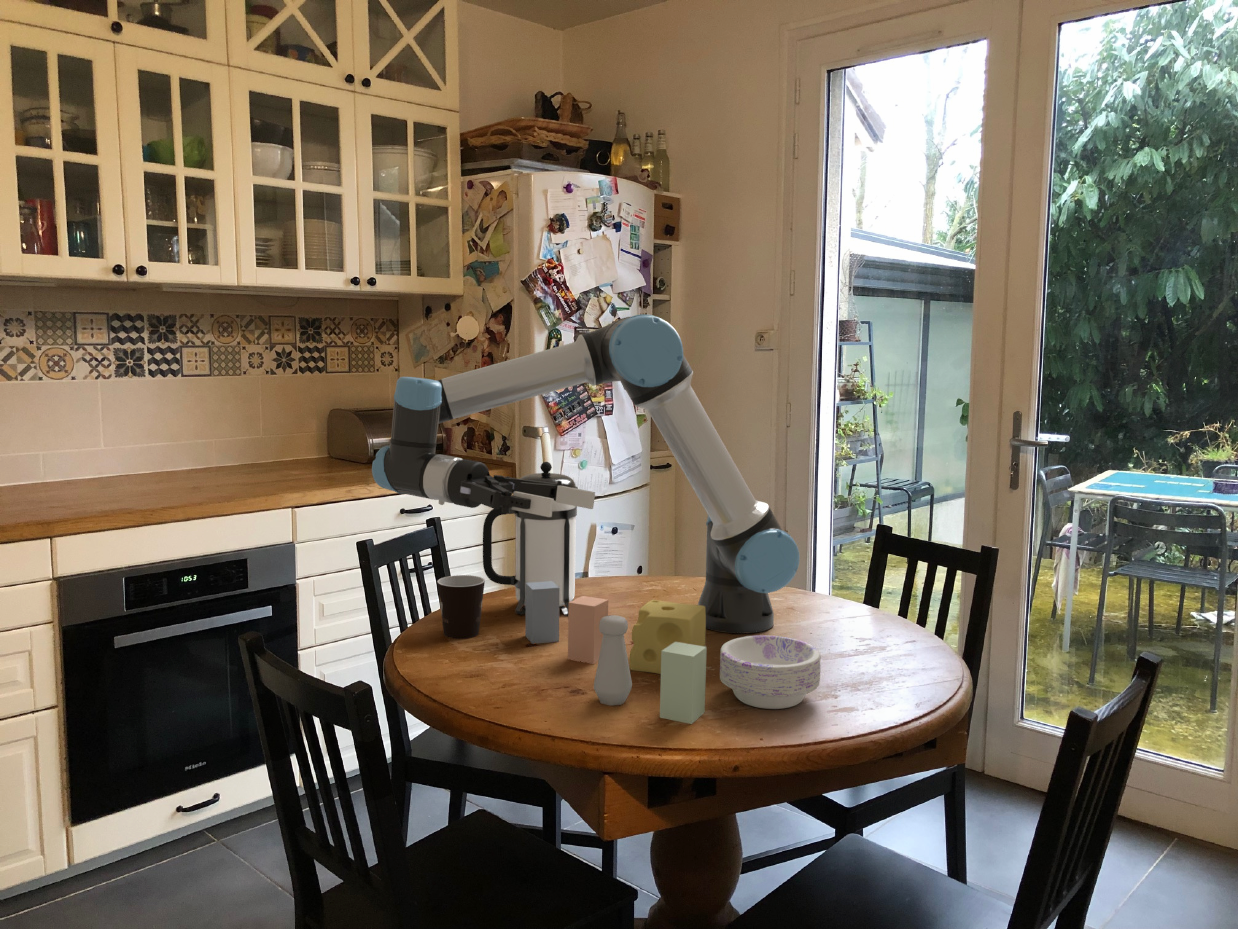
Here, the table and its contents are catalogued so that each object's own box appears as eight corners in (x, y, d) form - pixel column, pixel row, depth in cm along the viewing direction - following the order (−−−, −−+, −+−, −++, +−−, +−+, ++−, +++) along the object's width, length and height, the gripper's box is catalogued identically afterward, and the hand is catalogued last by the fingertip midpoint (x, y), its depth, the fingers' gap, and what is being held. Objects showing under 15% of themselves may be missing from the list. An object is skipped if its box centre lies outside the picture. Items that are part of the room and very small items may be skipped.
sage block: (673, 706, 146) (675, 641, 144) (704, 712, 144) (706, 647, 142) (659, 717, 141) (661, 651, 140) (691, 724, 139) (693, 656, 138)
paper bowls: (707, 708, 145) (709, 657, 144) (732, 676, 159) (733, 629, 158) (810, 724, 140) (812, 671, 139) (826, 689, 154) (828, 641, 153)
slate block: (551, 633, 181) (552, 581, 179) (559, 641, 176) (559, 587, 175) (525, 635, 179) (525, 582, 178) (532, 644, 174) (532, 589, 173)
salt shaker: (636, 696, 149) (638, 614, 148) (624, 710, 144) (626, 624, 142) (600, 691, 151) (602, 610, 150) (587, 704, 146) (588, 620, 144)
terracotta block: (582, 651, 171) (582, 595, 170) (607, 655, 169) (608, 599, 167) (567, 659, 166) (568, 602, 165) (593, 664, 164) (594, 606, 163)
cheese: (628, 671, 161) (629, 612, 160) (650, 652, 171) (651, 597, 170) (688, 680, 157) (690, 620, 156) (707, 660, 167) (709, 603, 166)
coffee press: (547, 593, 209) (548, 455, 205) (596, 609, 197) (598, 462, 194) (480, 607, 197) (480, 460, 194) (528, 625, 186) (529, 469, 182)
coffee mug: (475, 642, 175) (475, 588, 173) (430, 638, 176) (429, 585, 175) (496, 624, 186) (496, 573, 185) (453, 621, 188) (453, 570, 186)
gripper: (497, 498, 170) (605, 520, 161) (408, 511, 147) (528, 537, 138) (502, 455, 169) (611, 475, 160) (413, 462, 146) (534, 485, 137)
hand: (573, 504), depth 149 cm, fingers open, 13 cm apart
